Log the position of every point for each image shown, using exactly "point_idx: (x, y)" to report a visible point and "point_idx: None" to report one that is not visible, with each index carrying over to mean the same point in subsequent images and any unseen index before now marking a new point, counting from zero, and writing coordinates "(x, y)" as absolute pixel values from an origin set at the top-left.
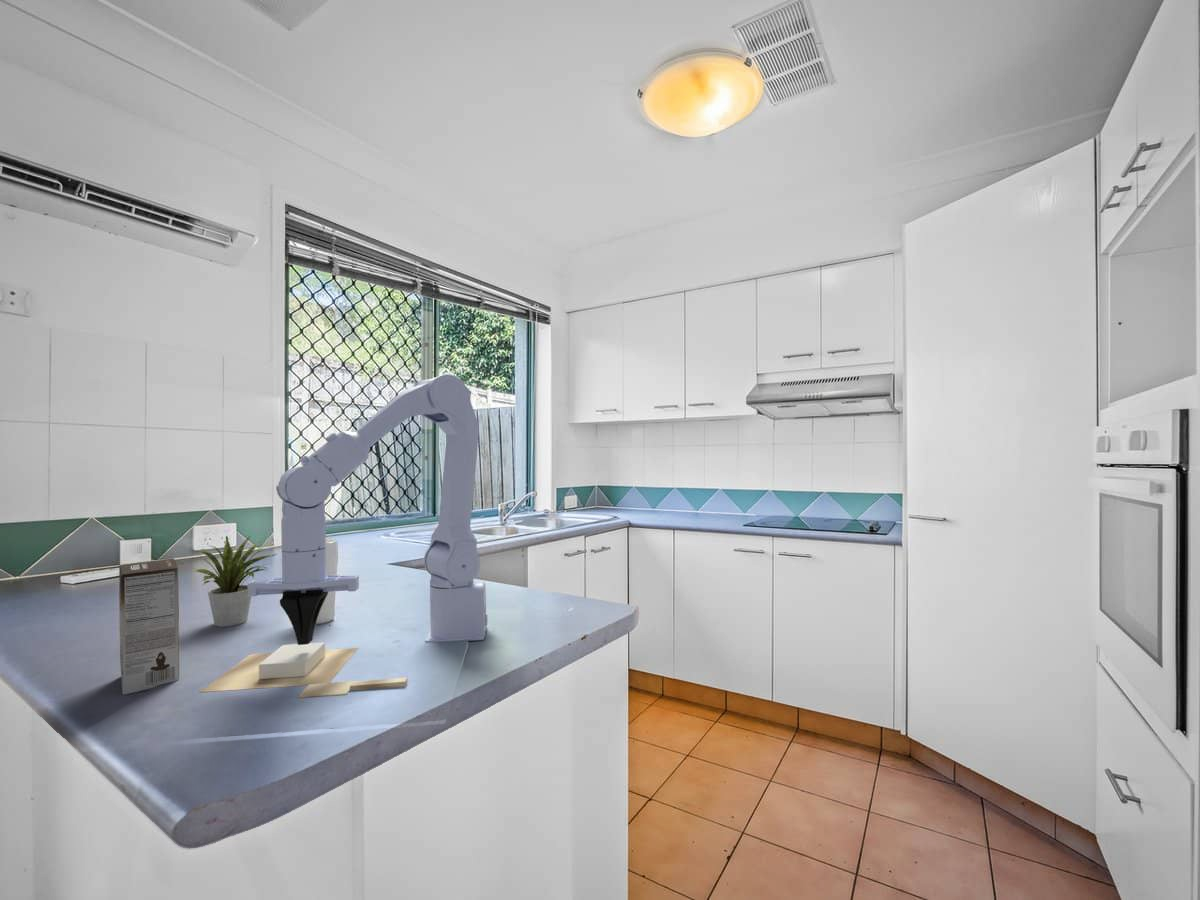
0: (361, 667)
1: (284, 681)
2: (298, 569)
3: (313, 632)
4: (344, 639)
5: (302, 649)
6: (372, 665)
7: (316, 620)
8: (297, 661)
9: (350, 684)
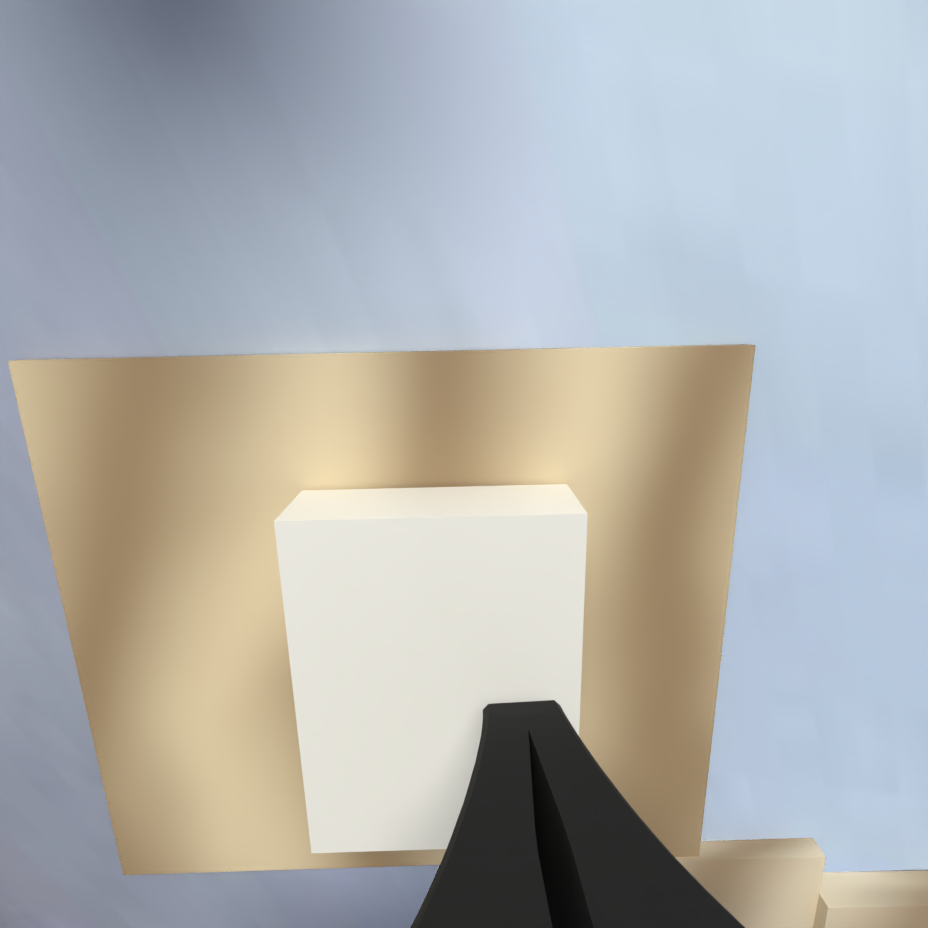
0: (808, 637)
1: None
2: None
3: (576, 733)
4: (577, 23)
5: (472, 643)
6: (865, 617)
7: (632, 809)
8: None
9: (807, 890)
